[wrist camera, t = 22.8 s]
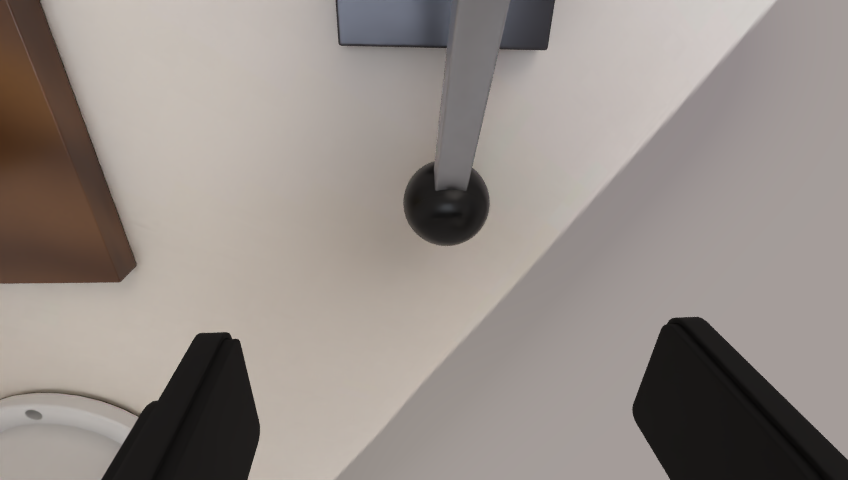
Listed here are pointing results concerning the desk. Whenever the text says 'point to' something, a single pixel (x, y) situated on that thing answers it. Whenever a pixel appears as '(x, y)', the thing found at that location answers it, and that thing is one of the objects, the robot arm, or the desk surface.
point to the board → (49, 167)
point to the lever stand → (434, 23)
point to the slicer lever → (459, 129)
